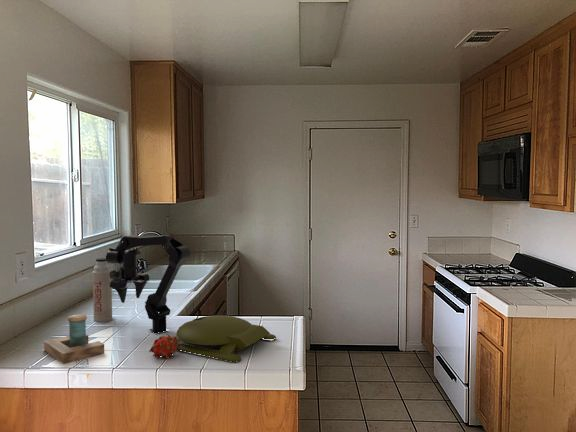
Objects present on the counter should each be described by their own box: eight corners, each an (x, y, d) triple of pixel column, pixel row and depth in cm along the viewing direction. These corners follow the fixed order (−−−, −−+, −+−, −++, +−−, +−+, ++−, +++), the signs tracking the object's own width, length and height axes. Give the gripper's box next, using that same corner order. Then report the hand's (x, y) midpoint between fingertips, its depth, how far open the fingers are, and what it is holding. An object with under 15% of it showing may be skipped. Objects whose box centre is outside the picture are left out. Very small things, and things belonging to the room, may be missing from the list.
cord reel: (91, 349, 186) (90, 315, 185) (77, 354, 180) (76, 320, 179) (78, 347, 188) (77, 313, 187) (64, 352, 183) (63, 317, 182)
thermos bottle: (102, 322, 220) (100, 260, 218) (89, 320, 224) (88, 259, 222) (116, 318, 227) (114, 258, 225) (103, 315, 231) (102, 256, 229)
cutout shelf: (83, 341, 195) (83, 332, 195) (104, 353, 182) (104, 344, 181) (44, 350, 185) (44, 341, 184) (63, 363, 171) (63, 354, 171)
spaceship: (278, 340, 199) (278, 316, 198) (236, 365, 172) (236, 337, 171) (208, 327, 215) (207, 305, 214) (159, 349, 188) (159, 324, 187)
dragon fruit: (183, 357, 182) (152, 369, 175) (174, 340, 187) (143, 350, 180) (186, 344, 177) (154, 355, 170) (177, 326, 182) (145, 336, 175)
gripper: (129, 259, 223) (130, 293, 224) (99, 266, 206) (100, 303, 207) (149, 261, 219) (150, 296, 220) (120, 268, 201) (120, 306, 203)
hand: (130, 300), depth 212 cm, fingers open, 9 cm apart
